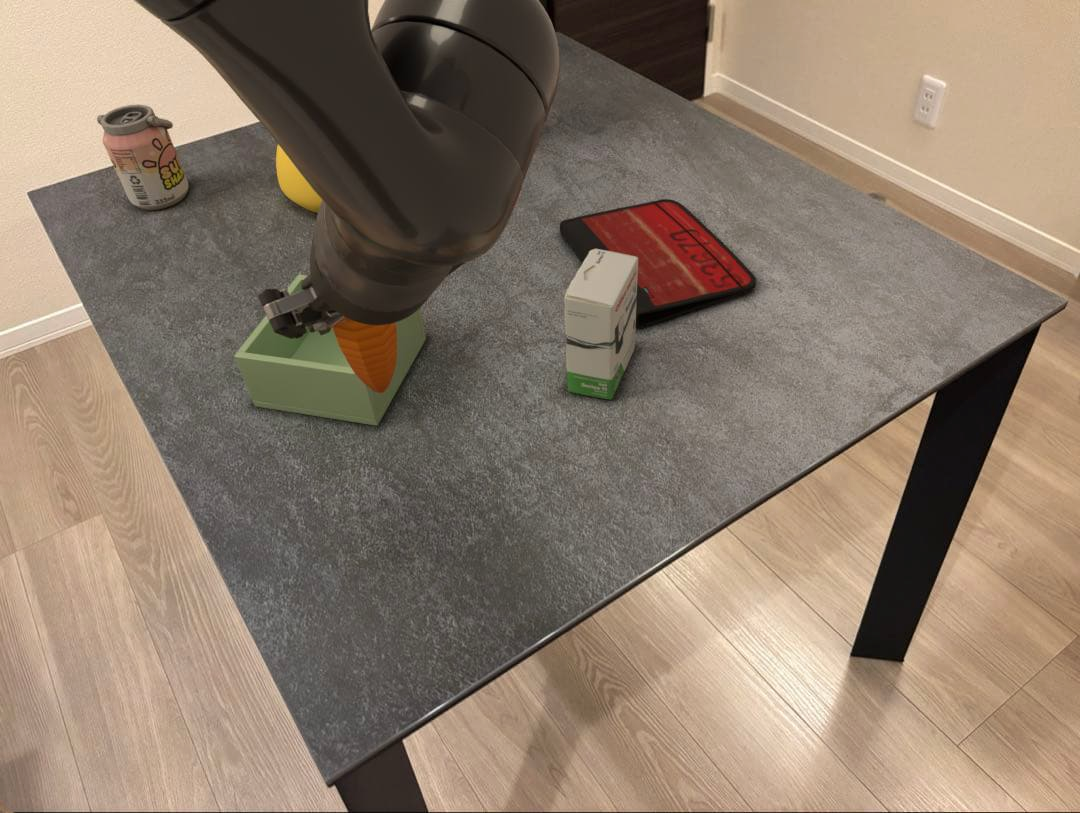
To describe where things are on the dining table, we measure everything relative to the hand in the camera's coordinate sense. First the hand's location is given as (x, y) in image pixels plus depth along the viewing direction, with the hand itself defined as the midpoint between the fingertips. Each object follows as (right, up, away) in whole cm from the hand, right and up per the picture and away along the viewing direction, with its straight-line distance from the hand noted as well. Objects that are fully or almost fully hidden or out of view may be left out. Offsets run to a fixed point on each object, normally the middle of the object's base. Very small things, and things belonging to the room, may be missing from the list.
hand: (353, 308), depth 62 cm
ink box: (+20, -4, +23) cm, 31 cm away
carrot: (+1, -6, +4) cm, 8 cm away
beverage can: (-39, +22, +55) cm, 71 cm away
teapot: (-13, +24, +54) cm, 61 cm away
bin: (-7, -4, +25) cm, 27 cm away
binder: (+28, +10, +36) cm, 47 cm away
